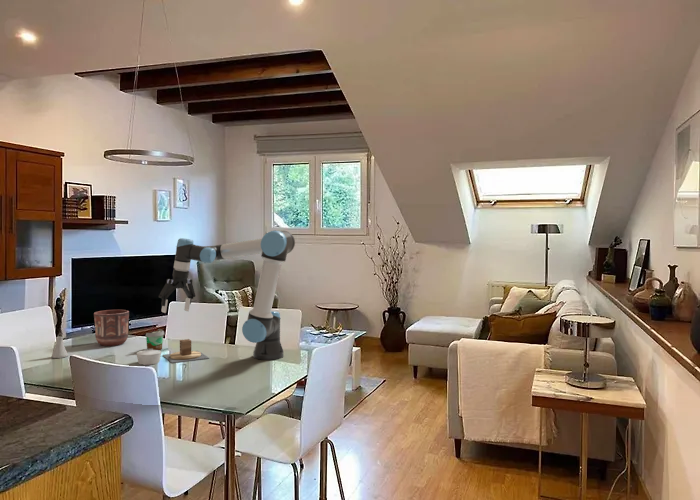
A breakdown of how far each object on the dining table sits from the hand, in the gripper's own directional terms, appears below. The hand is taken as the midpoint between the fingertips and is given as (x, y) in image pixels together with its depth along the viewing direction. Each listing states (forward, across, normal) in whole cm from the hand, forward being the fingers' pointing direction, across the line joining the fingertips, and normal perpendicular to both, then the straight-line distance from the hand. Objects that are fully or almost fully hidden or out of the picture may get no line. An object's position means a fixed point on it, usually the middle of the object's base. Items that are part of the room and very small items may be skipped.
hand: (175, 311), depth 269 cm
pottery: (+31, 0, -50) cm, 59 cm away
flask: (+32, +32, -42) cm, 62 cm away
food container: (+26, -6, -18) cm, 32 cm away
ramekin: (+24, +13, +2) cm, 27 cm away
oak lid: (+22, -5, +7) cm, 23 cm away
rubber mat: (+22, -5, +7) cm, 23 cm away
